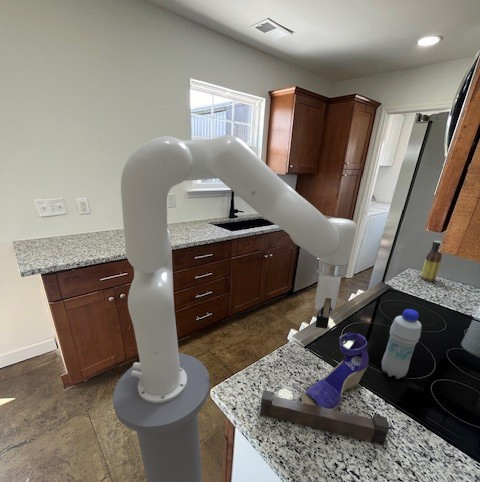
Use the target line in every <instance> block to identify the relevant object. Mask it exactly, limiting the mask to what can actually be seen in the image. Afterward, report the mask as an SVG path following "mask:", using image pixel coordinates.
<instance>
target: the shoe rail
mask: <svg viewBox="0 0 480 482" xmlns="http://www.w3.org/2000/svg"><path fill="white" fill-rule="evenodd" d="M260 416H263V417H267V418H272V419H275V420H280V421H284V422H288V423H291V424H295V425H296V424H297V425H300V426H304V427H308V428H312V429H317V430H320V431H325V432H328V433H333V434H337V435H341V436H344V437H348V438H353V439H356V440H361V441H365V442H369V443H374V444H377V445H380V446H384V445H385V442H386V440H387V436H388V433H389V431H390V425H389V421H388V417H386V416H383V415H379V414H373V415H372V417H368V416H362V415H359V414H355V413H349V412H345V411H341V410H338V409H337V410H333V409H328V408H324V407H319V406H315V405H310V404H306V403H302V401H297V400H292V399H288V398H283V397H279V396H275V392H274V391H270V390H266V389H263V390H262V393H261V398H260Z"/></svg>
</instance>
